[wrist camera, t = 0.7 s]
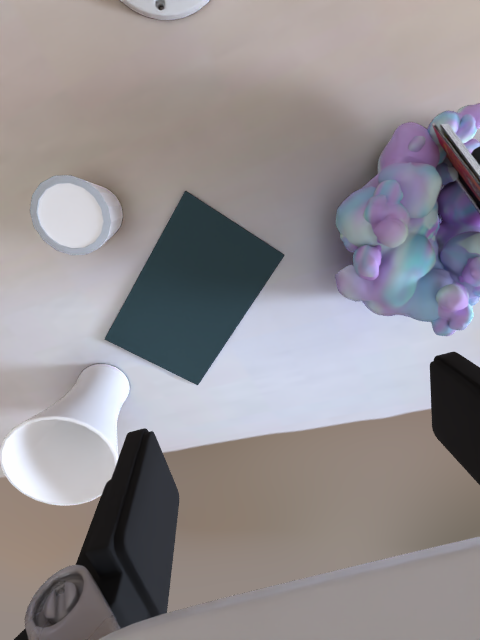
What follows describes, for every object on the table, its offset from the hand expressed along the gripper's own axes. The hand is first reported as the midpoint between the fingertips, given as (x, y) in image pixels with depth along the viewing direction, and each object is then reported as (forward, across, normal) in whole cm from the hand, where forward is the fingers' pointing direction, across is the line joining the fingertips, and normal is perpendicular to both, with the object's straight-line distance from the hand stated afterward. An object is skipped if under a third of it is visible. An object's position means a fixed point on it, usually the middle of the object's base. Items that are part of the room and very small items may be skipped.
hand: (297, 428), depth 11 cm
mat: (+30, +6, +3) cm, 31 cm away
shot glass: (+30, +14, -9) cm, 34 cm away
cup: (+30, +21, +12) cm, 38 cm away
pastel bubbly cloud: (+30, -20, 0) cm, 36 cm away
